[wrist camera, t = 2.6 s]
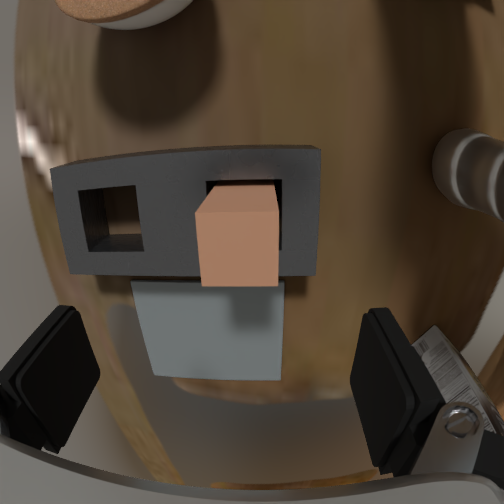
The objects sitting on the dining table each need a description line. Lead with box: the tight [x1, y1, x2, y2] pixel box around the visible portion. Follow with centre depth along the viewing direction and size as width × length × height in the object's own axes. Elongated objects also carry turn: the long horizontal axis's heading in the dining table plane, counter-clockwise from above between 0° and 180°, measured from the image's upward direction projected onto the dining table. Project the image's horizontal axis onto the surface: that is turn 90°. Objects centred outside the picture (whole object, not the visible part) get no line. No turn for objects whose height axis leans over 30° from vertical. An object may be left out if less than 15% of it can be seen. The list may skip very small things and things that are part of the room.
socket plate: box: [50, 145, 321, 276], centre depth 23 cm, size 20×9×4 cm, turn 91°
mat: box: [131, 280, 284, 380], centre depth 30 cm, size 14×12×1 cm
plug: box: [195, 179, 279, 286], centre depth 20 cm, size 4×4×10 cm
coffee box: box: [411, 325, 504, 436], centre depth 24 cm, size 9×6×16 cm
